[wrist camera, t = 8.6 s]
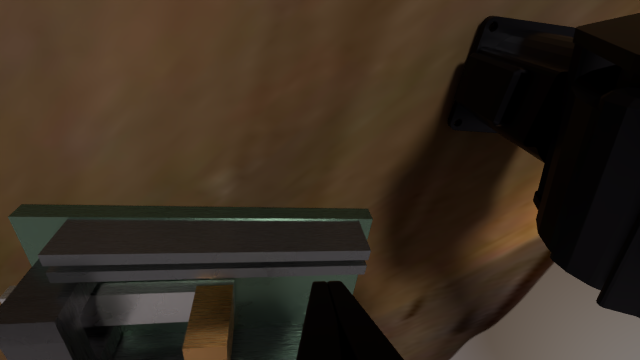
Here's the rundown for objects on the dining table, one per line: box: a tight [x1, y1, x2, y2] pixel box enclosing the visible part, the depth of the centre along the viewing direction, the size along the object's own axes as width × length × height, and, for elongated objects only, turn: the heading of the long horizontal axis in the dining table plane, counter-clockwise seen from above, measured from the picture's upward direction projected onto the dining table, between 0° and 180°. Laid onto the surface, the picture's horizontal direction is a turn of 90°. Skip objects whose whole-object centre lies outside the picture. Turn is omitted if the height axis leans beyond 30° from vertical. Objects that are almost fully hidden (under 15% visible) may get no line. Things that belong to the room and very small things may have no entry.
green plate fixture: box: [0, 204, 373, 360], centre depth 22 cm, size 22×14×6 cm, turn 83°
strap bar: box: [0, 279, 235, 360], centre depth 20 cm, size 14×4×5 cm, turn 83°
